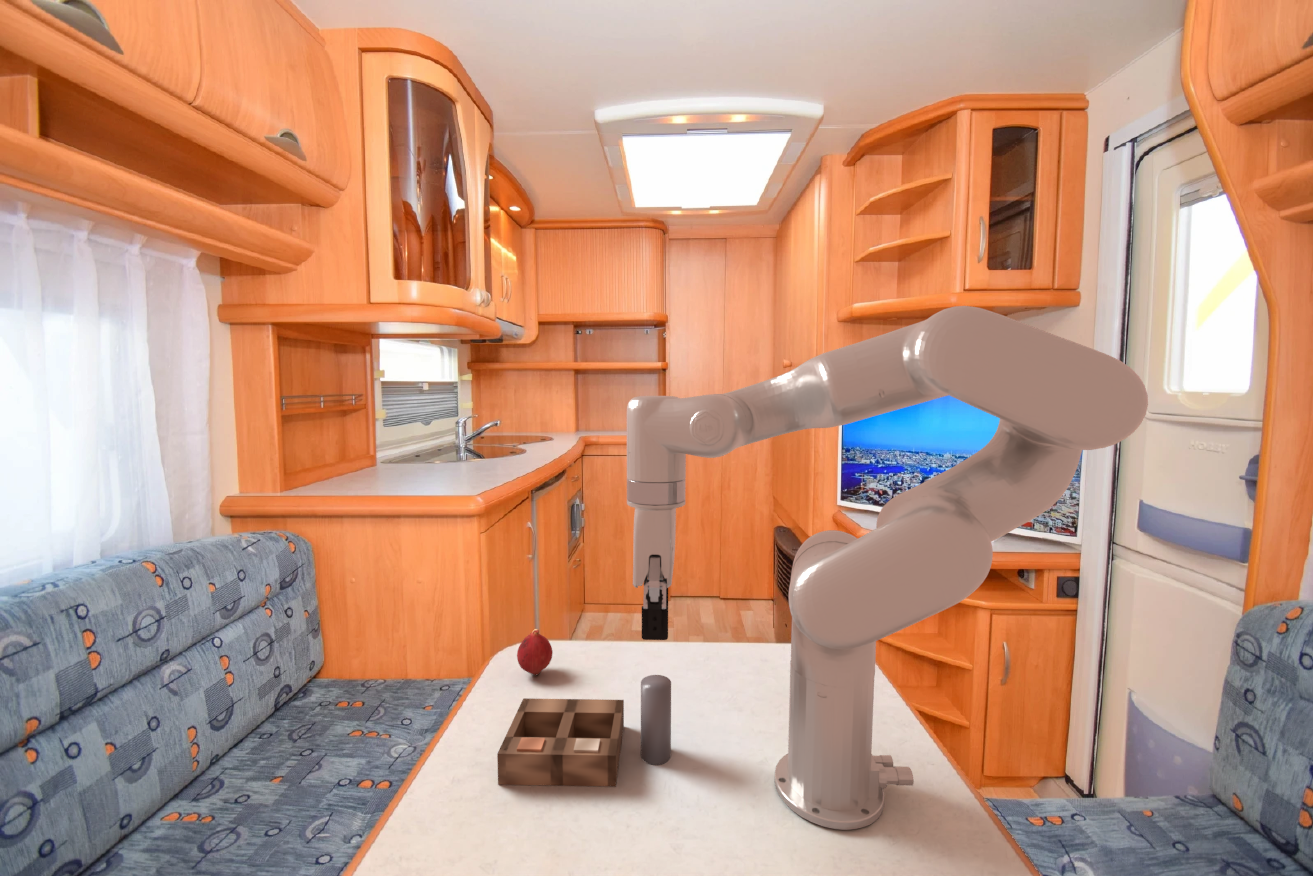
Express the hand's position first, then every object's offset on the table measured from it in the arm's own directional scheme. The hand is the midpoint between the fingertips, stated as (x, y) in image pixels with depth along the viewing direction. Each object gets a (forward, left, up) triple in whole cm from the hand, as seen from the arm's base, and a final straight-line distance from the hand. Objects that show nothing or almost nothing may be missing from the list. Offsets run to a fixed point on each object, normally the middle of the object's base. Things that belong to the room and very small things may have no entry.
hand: (655, 622), depth 71 cm
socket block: (+12, 0, -18) cm, 22 cm away
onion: (+21, -20, -18) cm, 34 cm away
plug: (0, 0, -18) cm, 18 cm away
